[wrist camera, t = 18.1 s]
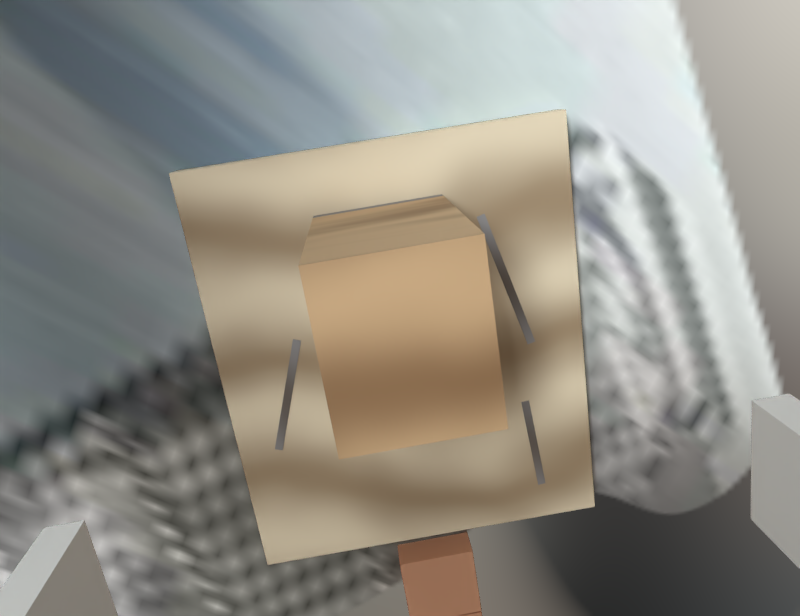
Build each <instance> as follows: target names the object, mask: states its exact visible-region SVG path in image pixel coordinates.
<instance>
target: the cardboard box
mask: <svg viewBox="0 0 800 616" xmlns="http://www.w3.org/2000/svg"><path fill="white" fill-rule="evenodd" d="M298 267H299V272H300V276H301V281H302V286H303V291H304V295H305V300H306V305H307V310H308V314H309V319H310V324H311V329H312V334H313V338H314V343H315V348H316V353H317V357H318V362H319V367H320V372H321V376H322V381H323V386H324V391H325V396H326V400H327V405H328V410H329V415H330V419H331V424H332V429H333V434H334V438H335V443H336V448H337V453H338V457H339V459H345V458H350V457H356V456H362V455H367V454H373V453H378V452H384V451H389V450H395V449H400V448H406V447H412V446H417V445H423V444H428V443H434V442H439V441H445V440H450V439H456V438H461V437H467V436H473V435H478V434H484V433H489V432H495V431H500V430H506V429H508V422H507V414H506V405H505V397H504V389H503V380H502V372H501V364H500V356H499V347H498V339H497V331H496V322H495V314H494V306H493V298H492V289H491V281H490V273H489V265H488V256H487V248H486V240H485V234H484V233H483V232H482V231H481V230H480V229H479V228H478V227H477V226H476V225H475V224H474V223H472V222H471V221H470V220H469V219H468V218H467V217H466V216H465V215H464V214H463V213H462V212H461V211H459V210H458V209H457V208H456V207H455V206H454V205H453V204H452V203H451V202H450V201H449V200H448V199H446V198H445V197H444V196H443V195H442V194H440V195H434V196H428V197H422V198H416V199H410V200H404V201H398V202H393V203H387V204H381V205H375V206H369V207H363V208H357V209H351V210H345V211H340V212H334V213H328V214H322V215H316V216H313V219H312V222H311V225H310V229H309V232H308V235H307V239H306V242H305V245H304V249H303V252H302V255H301V259H300V262H299V265H298Z"/></svg>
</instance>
